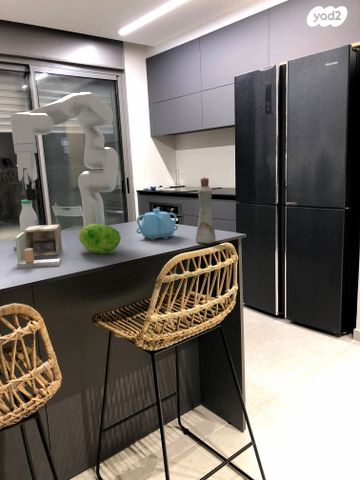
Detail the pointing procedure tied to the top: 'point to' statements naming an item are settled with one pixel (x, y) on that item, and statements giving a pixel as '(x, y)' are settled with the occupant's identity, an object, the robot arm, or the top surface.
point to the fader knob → (29, 255)
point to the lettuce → (99, 238)
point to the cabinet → (44, 239)
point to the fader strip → (39, 263)
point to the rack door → (20, 246)
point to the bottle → (205, 214)
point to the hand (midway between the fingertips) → (32, 199)
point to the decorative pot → (157, 224)
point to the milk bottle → (27, 215)
